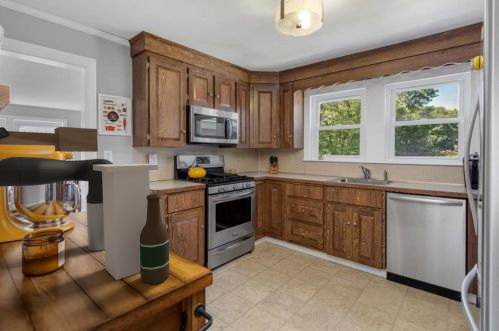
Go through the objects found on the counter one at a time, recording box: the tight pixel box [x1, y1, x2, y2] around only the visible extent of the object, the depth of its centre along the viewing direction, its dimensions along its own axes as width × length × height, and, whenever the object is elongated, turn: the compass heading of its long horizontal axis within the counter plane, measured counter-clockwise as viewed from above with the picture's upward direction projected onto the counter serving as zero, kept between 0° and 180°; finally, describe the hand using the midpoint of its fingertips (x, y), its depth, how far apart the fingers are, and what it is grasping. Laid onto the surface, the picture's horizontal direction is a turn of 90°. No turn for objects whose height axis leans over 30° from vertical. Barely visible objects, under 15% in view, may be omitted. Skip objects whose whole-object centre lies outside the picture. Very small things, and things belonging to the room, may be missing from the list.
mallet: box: [0, 126, 99, 153], centre depth 62 cm, size 8×23×6 cm, turn 135°
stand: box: [93, 162, 159, 281], centre depth 78 cm, size 13×14×32 cm
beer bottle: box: [139, 193, 170, 286], centre depth 72 cm, size 8×8×24 cm
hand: (6, 131), depth 58 cm, fingers closed on mallet, 3 cm apart
